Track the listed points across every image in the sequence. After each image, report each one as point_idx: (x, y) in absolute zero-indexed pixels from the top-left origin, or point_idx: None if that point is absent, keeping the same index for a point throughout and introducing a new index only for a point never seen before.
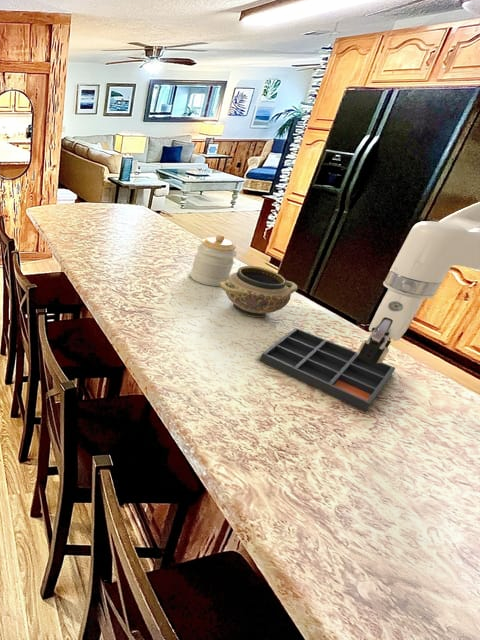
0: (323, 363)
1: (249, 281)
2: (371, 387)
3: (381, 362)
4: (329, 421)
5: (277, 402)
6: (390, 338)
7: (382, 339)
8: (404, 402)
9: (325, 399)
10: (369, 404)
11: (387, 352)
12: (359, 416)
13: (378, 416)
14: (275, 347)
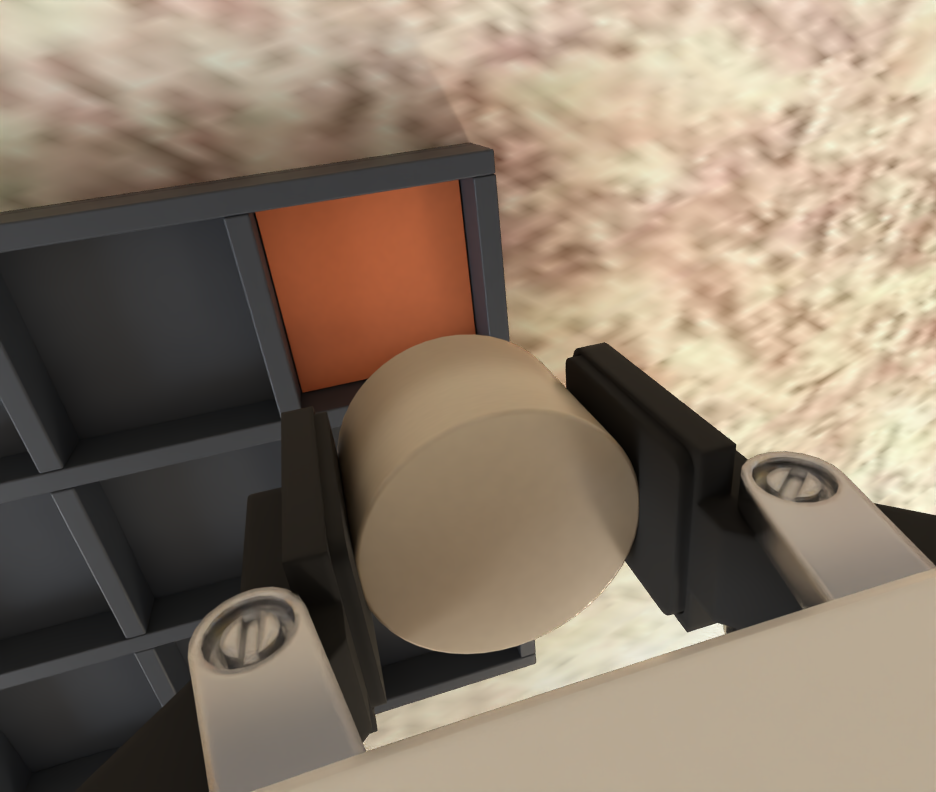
0: (195, 529)
1: None
2: (247, 240)
3: (476, 335)
4: (732, 208)
5: (774, 397)
6: (309, 617)
7: (349, 625)
8: (12, 23)
9: (554, 318)
10: (490, 150)
11: (519, 402)
12: (548, 142)
13: (435, 72)
14: (390, 691)
